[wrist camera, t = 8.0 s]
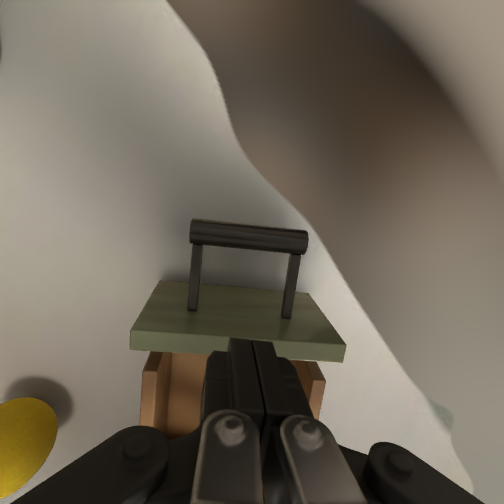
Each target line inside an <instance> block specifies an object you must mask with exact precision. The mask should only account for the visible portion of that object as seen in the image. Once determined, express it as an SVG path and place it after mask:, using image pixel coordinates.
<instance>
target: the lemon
mask: <svg viewBox="0 0 504 504" xmlns="http://www.w3.org/2000/svg"><path fill="white" fill-rule="evenodd" d="M57 430H58V425H57V418H56V415H55V413H54V411H53V409H52V408H51V407H50V406H49V405H48V404H47V403H45V402H44V401H41V400H39V399H36V398H28V397H24V398H17V399H13V400H10V401H7V402H5V403H3V404H1V405H0V499H1V498H4V497H6V496H8V495H10V494H12V493H13V492H15V491H17V490H18V489H20V488H21V487H22V486H23V485H24V484H25V483H26V482H27V481H28V480H29V479H30V478H31V477H32V476H33V475H34V474H35V473H36V472H37V471H38V470H39V469H40V468H41V466H42V465H43V464H44V462H45V461H46V459H47V457H48V455H49V454H50V452H51V450H52V448H53V446H54V443H55V440H56V436H57Z"/></svg>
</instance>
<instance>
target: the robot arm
mask: <svg viewBox="0 0 504 504" xmlns="http://www.w3.org/2000/svg"><path fill="white" fill-rule="evenodd" d="M262 487H263V492H264V501H263V493H262ZM11 504H484V503H483V502H481V501H480V500H478V499H477V498H476V497H474V496H473V495H471V494H470V493H469V492H467V491H466V490H464V489H463V488H461V487H460V486H458V485H457V484H456V483H454V482H453V481H451V480H450V479H448V478H447V477H446V476H444V475H443V474H441V473H440V472H438V471H437V470H435V469H434V468H433V467H431V466H430V465H428V464H427V463H425V462H424V461H423V460H421V459H420V458H418V457H417V456H415V455H414V454H412V453H411V452H410V451H408V450H406V449H405V448H403V447H401V446H399V445H396V444H393V443H389V442H378V443H376V444H374V445H373V446H372V447H371V448H370V451H369V454H368V455H366V454H363V453H360V452H357V451H354V450H351V449H348V448H346V447H343V446H341V445H339V444H337V442H336V440H335V438H334V436H333V434H332V433H331V431H330V430H329V429H328V428H327V427H326V426H325V425H324V424H323V423H322V422H320V421H318V420H317V419H315V418H314V416H313V413H312V410H311V408H310V405H309V402H308V400H307V397H306V394H305V392H304V389H303V388H302V384H301V381H300V379H299V376H298V373H297V371H296V368H295V366H294V365H293V364H292V363H291V362H290V361H289V360H288V359H287V358H286V357H277V355H276V351H275V348H274V345H273V342H271V341H261V340H250V339H242V338H232V337H230V338H229V342H228V348H227V352H225V351H215V350H214V351H213V352H212V353H211V354H210V356H209V357H208V358H207V362H206V369H205V375H204V381H203V388H202V394H201V404H200V417H199V426H198V427H197V429H195V430H194V431H193V432H191V433H190V434H188V435H185V436H183V437H180V438H175V439H171V440H168V438H167V437H166V436H165V434H164V433H163V432H161V431H160V430H158V429H156V428H154V427H150V426H144V425H140V426H132V427H128V428H125V429H123V430H121V431H119V432H117V433H116V434H114V435H113V436H111V437H110V438H108V439H107V440H105V441H104V442H102V443H101V444H99V445H98V446H96V447H95V448H93V449H92V450H90V451H89V452H87V453H86V454H84V455H83V456H81V457H80V458H78V459H77V460H75V461H74V462H72V463H71V464H69V465H68V466H66V467H65V468H63V469H62V470H60V471H59V472H57V473H56V474H54V475H53V476H51V477H50V478H48V479H47V480H45V481H44V482H42V483H41V484H39V485H38V486H36V487H35V488H33V489H32V490H30V491H29V492H27V493H26V494H24V495H23V496H21V497H20V498H18V499H17V500H15V501H14V502H12V503H11Z"/></svg>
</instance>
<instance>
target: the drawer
mask: <svg viewBox="0 0 504 504" xmlns="http://www.w3.org/2000/svg"><path fill="white" fill-rule="evenodd" d="M308 241H309V238H308V232H307V231H304V230H295V229H286V228H277V227H268V226H259V225H250V224H241V223H232V222H223V221H213V220H204V219H195V218H193V219H192V220H191V224H190V233H189V242H190V243H191V244H193V246H192V257H191V269H190V281H189V283H185V282H173V281H162V280H160V281H159V282H158V284H157V286H156V288H155V289H154V291H153V293H152V294H151V296H150V298H149V299H148V301H147V303H146V305H145V306H144V308H143V310H142V311H141V313H140V315H139V316H138V318H137V320H136V322H135V323H134V325H133V327H132V328H131V330H130V350H142V351H151V352H150V354H149V357H148V359H147V361H146V364H145V366H144V369H143V372H142V390H141V409H140V425H144V426H150V427H154V428H156V429H158V430H160V431H161V432H163V433H164V434H165V436H166V437H167V438H168V440H171V439H175V438H180V437H183V436H185V435H188V434H190V433H191V432H193V431H194V430H195V429H197V427H198V426H199V417H200V404H201V394H202V388H203V381H204V375H205V369H206V362H207V358H208V357H209V356H210V354H211V353H212V352H213V351H214V350H215V351H225V352H227V348H228V342H229V338H230V337H232V338H242V339H250V340H261V341H271V342H273V345H274V348H275V351H276V355H277V357H286V358H287V359H288V360H289V361H290V362H291V363H292V364H293V365H294V366H295V368H296V371H297V373H298V376H299V379H300V381H301V384H302V388H303V389H304V392H305V394H306V397H307V400H308V402H309V405H310V408H311V410H312V413H313V416H314V418H315V419H317V420H318V419H319V414H320V409H321V404H322V399H323V394H324V389H325V383H326V380H325V378H324V376H323V374H322V372H321V370H320V368H319V366H318V364H317V362H316V361H318V362H334V363H343V359H344V354H345V349H346V344H345V342H344V341H343V340H342V338H341V337H340V336H339V334H338V333H337V331H336V330H335V329H334V327H333V326H332V325H331V323H330V322H329V321H328V319H327V318H326V316H325V315H324V314H323V312H322V311H321V310H320V308H319V307H318V305H317V304H316V303H315V301H314V300H313V299H312V297H311V296H310V295H309V293H299V292H295V291H296V284H297V278H298V272H299V266H300V260H301V255H304V254H305V253H306V251H307V248H308ZM203 245H210V246H220V247H230V248H240V249H250V250H260V251H270V252H279V253H289V254H290V256H289V262H288V269H287V275H286V282H285V289H284V291H276V290H265V289H253V288H242V287H230V286H219V285H208V284H200V274H201V263H202V252H203ZM262 493H263V501H264V492H263V487H262Z"/></svg>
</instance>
